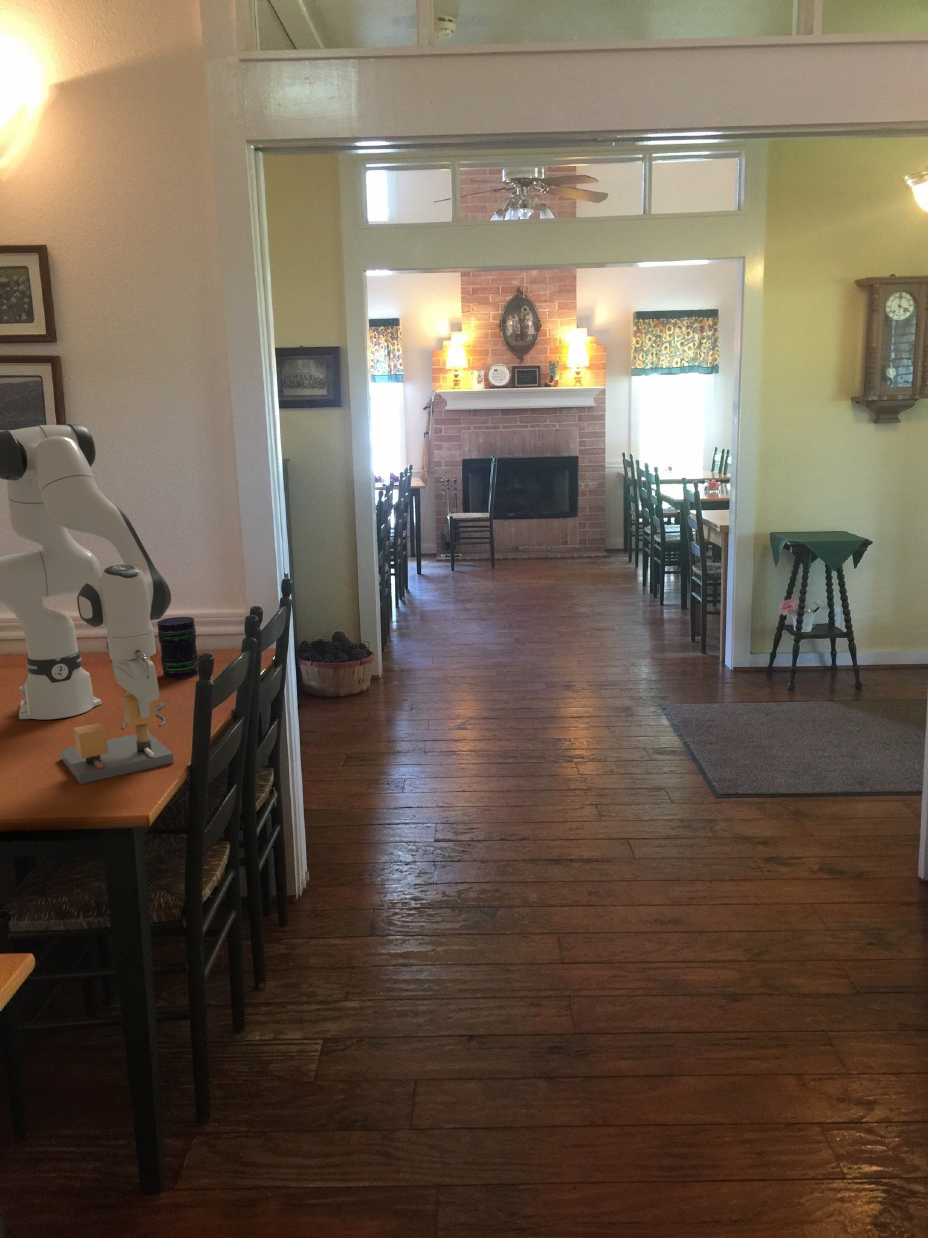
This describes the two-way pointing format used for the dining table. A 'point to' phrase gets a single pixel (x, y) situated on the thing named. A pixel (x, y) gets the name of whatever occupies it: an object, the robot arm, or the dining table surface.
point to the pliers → (156, 714)
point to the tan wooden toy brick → (136, 711)
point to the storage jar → (178, 647)
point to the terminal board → (113, 753)
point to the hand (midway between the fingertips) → (140, 713)
